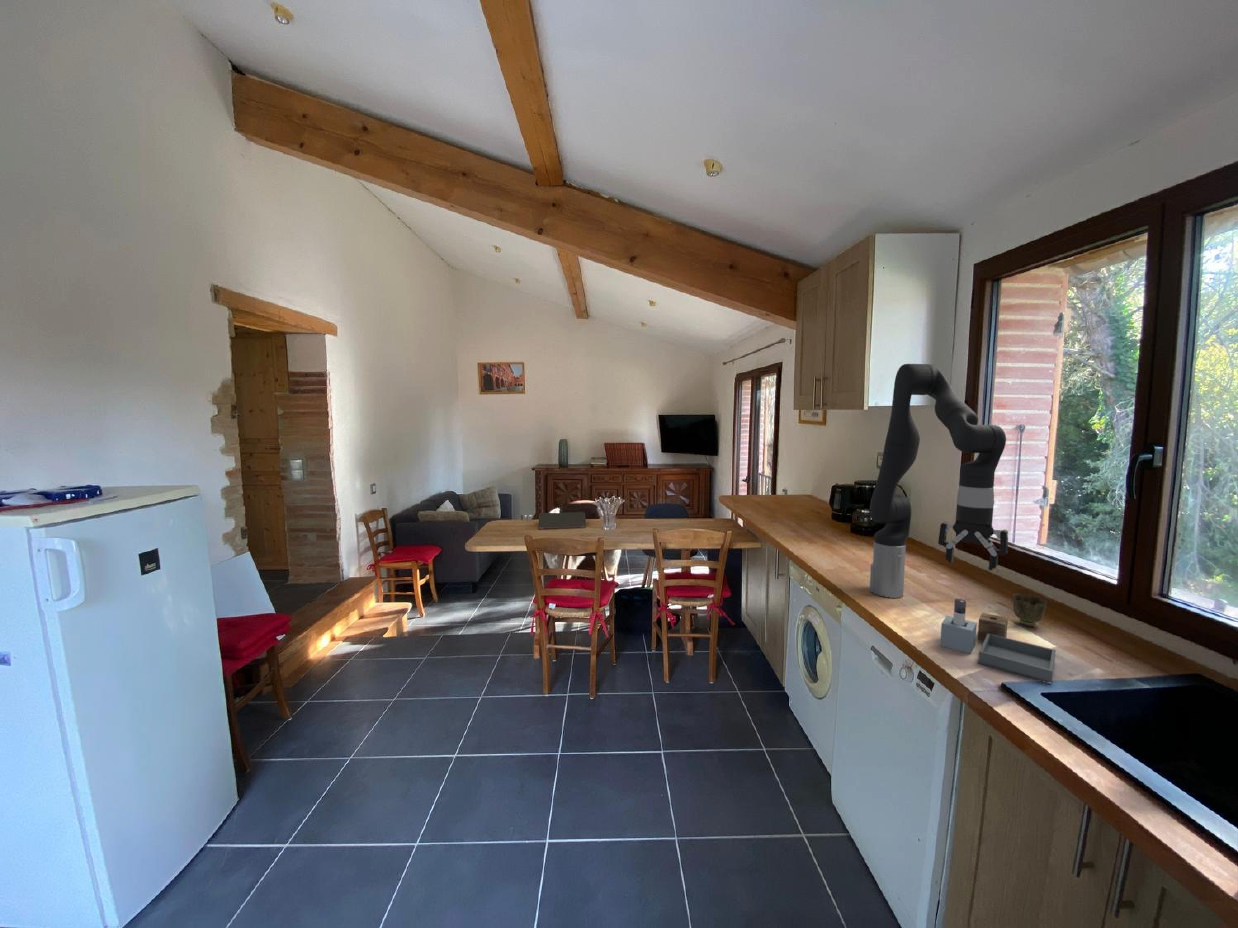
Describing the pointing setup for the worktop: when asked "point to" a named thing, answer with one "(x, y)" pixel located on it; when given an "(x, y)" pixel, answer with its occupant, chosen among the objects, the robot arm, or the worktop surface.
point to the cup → (1028, 609)
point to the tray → (1018, 657)
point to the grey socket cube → (958, 635)
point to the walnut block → (991, 626)
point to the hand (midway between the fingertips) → (970, 565)
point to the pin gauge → (959, 612)
